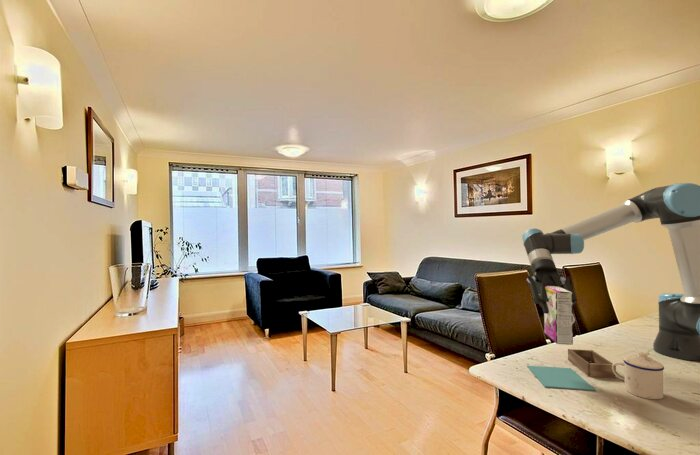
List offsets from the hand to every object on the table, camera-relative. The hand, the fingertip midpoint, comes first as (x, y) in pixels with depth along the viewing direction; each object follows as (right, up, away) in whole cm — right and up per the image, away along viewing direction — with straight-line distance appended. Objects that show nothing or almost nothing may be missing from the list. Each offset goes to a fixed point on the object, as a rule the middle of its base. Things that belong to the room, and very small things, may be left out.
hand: (562, 322), depth 107 cm
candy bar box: (+1, -7, +4) cm, 8 cm away
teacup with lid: (+19, -19, -6) cm, 27 cm away
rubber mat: (+1, -19, +3) cm, 19 cm away
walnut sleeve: (+16, -19, +11) cm, 27 cm away
